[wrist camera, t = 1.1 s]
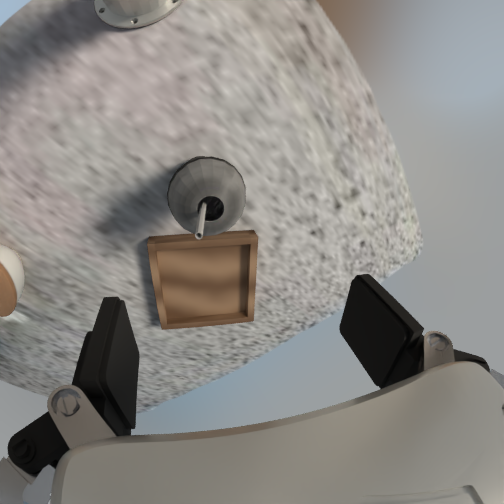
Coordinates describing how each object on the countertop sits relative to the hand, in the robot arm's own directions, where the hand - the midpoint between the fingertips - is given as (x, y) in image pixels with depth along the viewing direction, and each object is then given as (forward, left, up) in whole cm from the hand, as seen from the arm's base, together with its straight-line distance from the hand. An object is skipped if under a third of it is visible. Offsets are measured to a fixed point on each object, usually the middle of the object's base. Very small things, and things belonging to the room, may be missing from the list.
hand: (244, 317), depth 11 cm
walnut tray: (+16, 0, -28) cm, 32 cm away
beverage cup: (0, 0, -28) cm, 28 cm away
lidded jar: (+11, -34, -28) cm, 46 cm away
